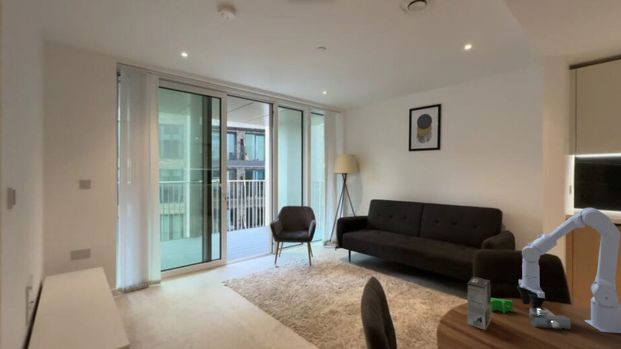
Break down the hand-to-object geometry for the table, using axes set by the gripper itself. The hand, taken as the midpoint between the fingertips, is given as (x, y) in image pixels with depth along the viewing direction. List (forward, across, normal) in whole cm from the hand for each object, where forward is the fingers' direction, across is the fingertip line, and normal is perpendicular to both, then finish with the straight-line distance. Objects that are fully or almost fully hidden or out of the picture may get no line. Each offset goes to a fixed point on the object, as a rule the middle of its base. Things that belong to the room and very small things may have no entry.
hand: (531, 307), depth 122 cm
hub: (+2, +8, 0) cm, 8 cm away
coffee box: (+2, +12, -25) cm, 28 cm away
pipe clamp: (+2, +1, -14) cm, 14 cm away
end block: (+1, +12, 0) cm, 12 cm away
